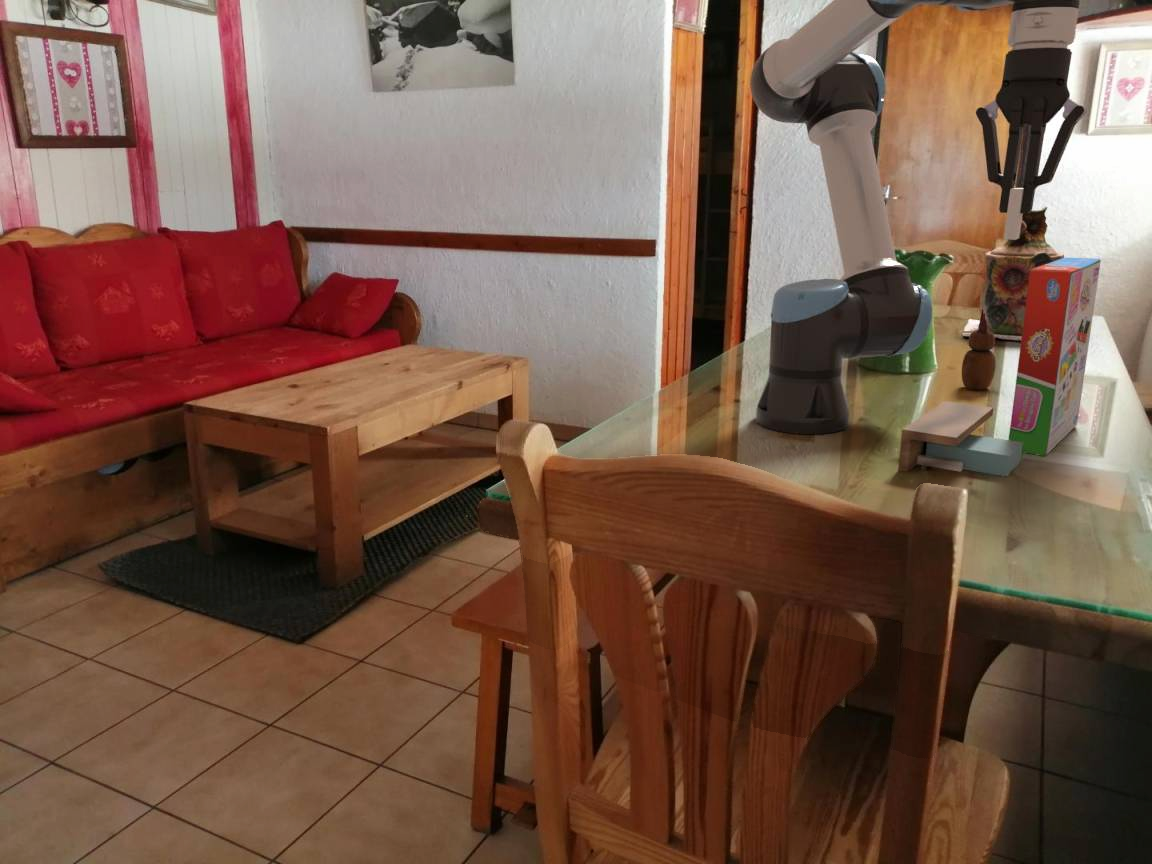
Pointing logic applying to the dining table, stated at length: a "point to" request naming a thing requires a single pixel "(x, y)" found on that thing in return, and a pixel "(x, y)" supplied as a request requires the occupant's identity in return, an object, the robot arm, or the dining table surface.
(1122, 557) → the dining table surface
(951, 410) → the overhang
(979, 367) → the wooden figurine
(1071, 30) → the robot arm
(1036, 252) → the cookie jar
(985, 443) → the slate blue rectangular box
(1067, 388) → the game box
